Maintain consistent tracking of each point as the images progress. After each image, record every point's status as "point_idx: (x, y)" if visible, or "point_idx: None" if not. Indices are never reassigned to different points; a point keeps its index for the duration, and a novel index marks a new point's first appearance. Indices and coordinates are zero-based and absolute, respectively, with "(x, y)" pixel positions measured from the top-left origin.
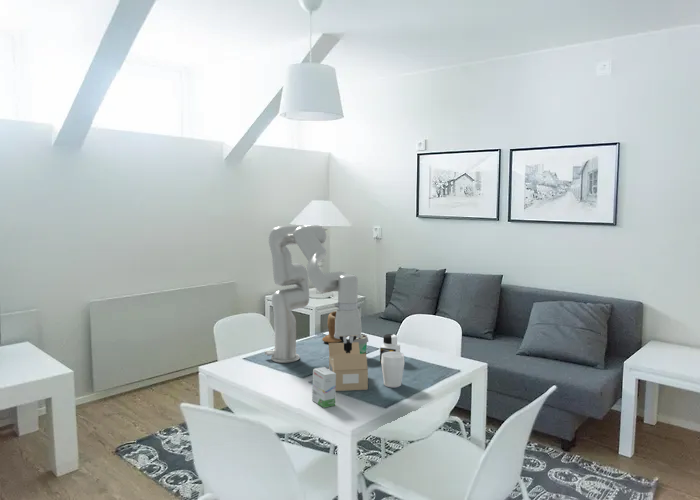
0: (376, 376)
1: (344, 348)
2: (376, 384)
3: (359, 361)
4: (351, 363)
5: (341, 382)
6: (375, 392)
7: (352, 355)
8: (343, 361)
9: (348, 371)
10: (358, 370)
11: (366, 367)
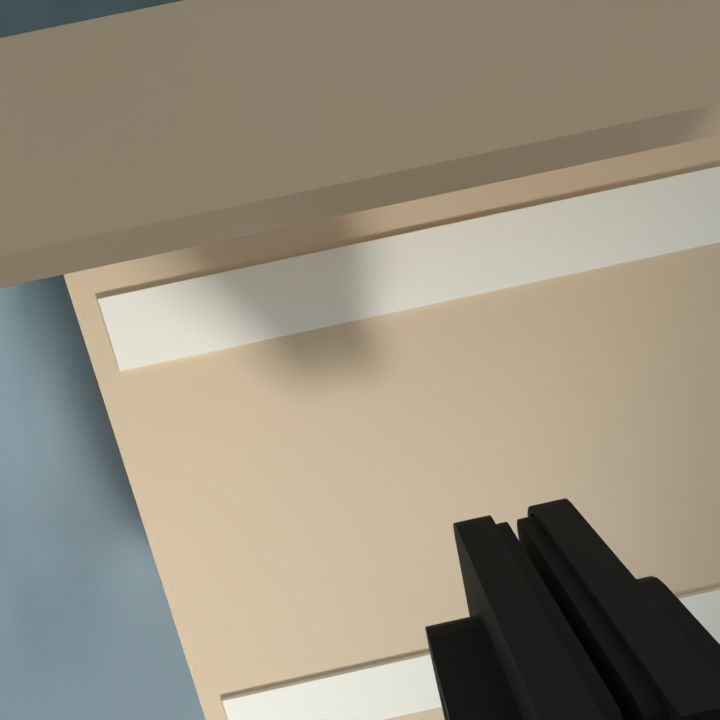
0: (80, 598)
1: (679, 607)
2: (41, 333)
3: (157, 89)
4: (374, 24)
5: None
6: (12, 30)
7: (372, 150)
8: (605, 1)
9: None
10: None
11: (9, 52)
